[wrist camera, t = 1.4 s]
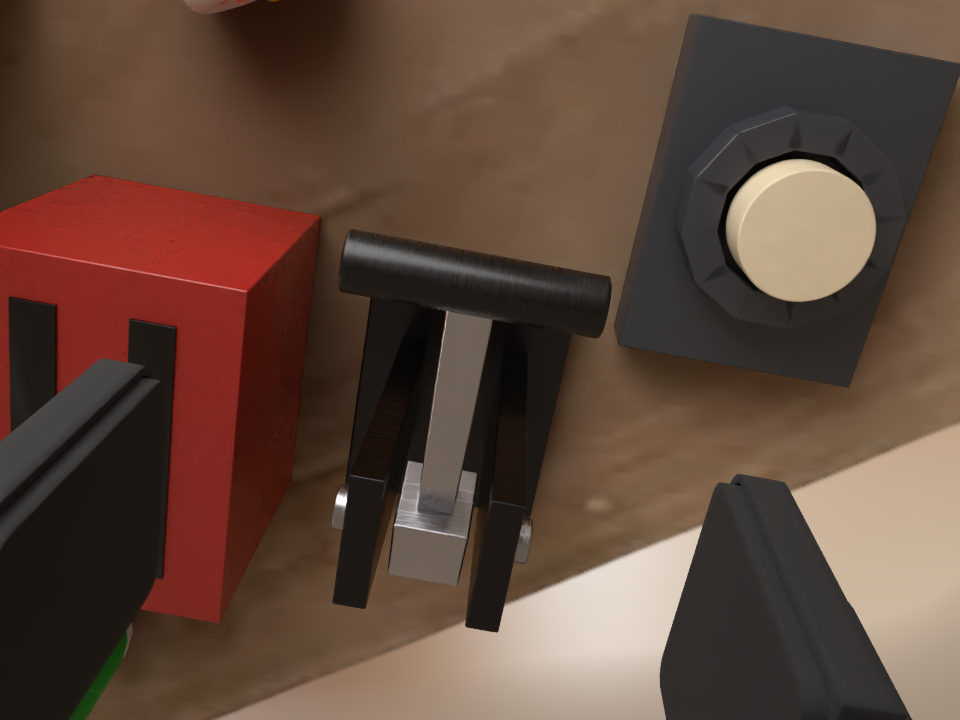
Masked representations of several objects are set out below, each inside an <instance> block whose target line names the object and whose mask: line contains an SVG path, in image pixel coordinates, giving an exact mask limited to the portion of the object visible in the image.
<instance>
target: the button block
mask: <svg viewBox="0 0 960 720" xmlns="http://www.w3.org/2000/svg"><path fill="white" fill-rule="evenodd" d="M959 76H960V64H959V63H953V62H948V61H943V60H938V59H932V58H927V57H922V56H916V55H911V54H906V53H901V52H895V51H890V50H885V49H879V48H874V47H869V46H864V45H858V44H853V43H848V42H842V41H837V40H832V39H827V38H821V37H816V36H811V35H805V34H800V33H795V32H790V31H784V30H779V29H774V28H768V27H763V26H758V25H753V24H747V23H742V22H737V21H731V20H726V19H721V18H716V17H710V16H705V15H698V14H690V16H689V20H688V24H687V28H686V33H685V37H684V41H683V45H682V49H681V53H680V57H679V61H678V65H677V69H676V74H675V78H674V82H673V86H672V90H671V94H670V98H669V102H668V106H667V110H666V115H665V119H664V123H663V127H662V131H661V135H660V139H659V143H658V147H657V151H656V156H655V160H654V164H653V168H652V172H651V176H650V180H649V184H648V188H647V192H646V197H645V201H644V205H643V209H642V213H641V217H640V221H639V225H638V229H637V233H636V238H635V242H634V246H633V250H632V254H631V258H630V262H629V266H628V270H627V274H626V279H625V283H624V287H623V291H622V295H621V299H620V303H619V307H618V311H617V315H616V320H615V324H614V328H615V332H616V336H617V340H618V344H619V346H624V347H630V348H635V349H641V350H646V351H652V352H657V353H663V354H668V355H674V356H679V357H684V358H690V359H695V360H701V361H706V362H712V363H717V364H723V365H728V366H734V367H739V368H744V369H750V370H755V371H761V372H766V373H772V374H777V375H783V376H788V377H793V378H799V379H804V380H810V381H815V382H821V383H826V384H832V385H837V386H843V387H849V386H850V383H851V380H852V377H853V374H854V372H855V369H856V366H857V363H858V360H859V358H860V355H861V352H862V349H863V346H864V343H865V341H866V338H867V335H868V332H869V329H870V326H871V324H872V321H873V318H874V315H875V312H876V310H877V307H878V304H879V301H880V298H881V295H882V293H883V290H884V287H885V284H886V281H887V279H888V276H889V273H890V270H891V267H892V264H893V262H894V259H895V256H896V253H897V250H898V248H899V245H900V242H901V239H902V236H903V233H904V231H905V228H906V225H907V222H908V219H909V217H910V214H911V211H912V208H913V205H914V202H915V200H916V197H917V194H918V191H919V188H920V186H921V183H922V180H923V177H924V174H925V171H926V169H927V166H928V163H929V160H930V157H931V154H932V152H933V149H934V146H935V143H936V140H937V138H938V135H939V132H940V129H941V126H942V123H943V121H944V118H945V115H946V112H947V109H948V107H949V104H950V101H951V98H952V95H953V92H954V90H955V87H956V84H957V81H958V78H959ZM790 159H806V160H812V161H816V162H820V163H822V164H824V165H827V166H828V167H830V168H832V169H834V170H835V171H837V172H839V173H841V174H843V175H844V176H846V177H848V178H849V179H851V180H852V181H854V182H855V183H856V184H857V185H858V186H859V187H860V188H861V189H862V190H863V191H864V192H865V194H866V195H867V197H868V198H869V200H870V202H871V205H872V207H873V210H874V214H875V220H876V236H875V242H874V246H873V249H872V252H871V254H870V257H869V259H868V260H867V262H866V264H865V266H864V267H863V268H862V270H861V271H860V273H859V274H858V275H857V276H856V277H855V278H854V279H853V280H852V281H851V282H850V283H848V284H847V285H846V286H845V287H843V288H842V289H840V290H839V291H837V292H835V293H833V294H831V295H829V296H826V297H824V298H821V299H817V300H813V301H805V302H792V301H785V300H781V299H777V298H775V297H772V296H770V295H768V294H766V293H765V292H763V291H761V290H760V289H759V288H758V287H756V286H755V285H754V284H753V283H752V282H751V281H750V279H749V278H748V277H747V275H746V274H745V273H744V272H743V270H742V269H741V268H740V266H739V265H738V264H737V262H736V261H735V260H734V258H733V256H732V254H731V252H730V250H729V247H728V244H727V239H726V219H727V214H728V210H729V207H730V205H731V202H732V200H733V198H734V196H735V195H736V193H737V192H738V190H739V189H740V188H741V186H742V185H743V184H744V183H745V182H746V181H747V180H748V179H749V178H750V177H751V176H752V175H754V174H755V173H757V172H758V171H759V170H761V169H763V168H765V167H766V166H769V165H771V164H774V163H776V162H780V161H784V160H790Z"/></svg>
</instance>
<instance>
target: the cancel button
mask: <svg viewBox="0 0 960 720" xmlns="http://www.w3.org/2000/svg"><path fill="white" fill-rule="evenodd" d="M875 236H876V220H875V214H874V210H873V207H872V205H871V202H870V200H869V198H868V197H867V195H866V194H865V192H864V191H863V190H862V189H861V188H860V187H859V186H858V185H857V184H856V183H855V182H854V181H852V180H851V179H849V178H848V177H846V176H844V175H843V174H841V173H839V172H837V171H835V170H834V169H832V168H830V167H828V166H827V165H824V164H822V163H820V162H816V161H812V160H806V159H790V160H784V161H780V162H776V163H774V164H771V165H769V166H766V167H765V168H763V169H761V170H759V171H758V172H757V173H755V174H754V175H752V176H751V177H750V178H749V179H748V180H747V181H746V182H745V183H744V184H743V185H742V186H741V188H740V189H739V190H738V192H737V193H736V195H735V196H734V198H733V200H732V202H731V205H730V207H729V210H728V214H727V219H726V239H727V244H728V247H729V250H730V252H731V254H732V256H733V258H734V260H735V261H736V262H737V264H738V265H739V266H740V268H741V269H742V270H743V272H744V273H745V274H746V275H747V277H748V278H749V279H750V281H751V282H752V283H753V284H754V285H755V286H756V287H758V288H759V289H760V290H761V291H763V292H765V293H766V294H768V295H770V296H772V297H775V298H777V299H781V300H785V301H792V302H805V301H813V300H817V299H821V298H824V297H826V296H829V295H831V294H833V293H835V292H837V291H839V290H840V289H842V288H843V287H845V286H846V285H847V284H848V283H850V282H851V281H852V280H853V279H854V278H855V277H856V276H857V275H858V274H859V273H860V271H861V270H862V268H863V267H864V266H865V264H866V262H867V260H868V259H869V257H870V254H871V252H872V249H873V246H874V242H875Z"/></svg>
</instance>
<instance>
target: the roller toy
mask: <svg viewBox="0 0 960 720" xmlns="http://www.w3.org/2000/svg"><path fill="white" fill-rule="evenodd" d="M254 1H257V0H184V2H185V3H186V5H187V6H188V7H189V8H190V9H192V10H193V11H195V12H197V13H200V14H212V13H218V12H222V11H226V10H229V9H232V8H236V7H239V6H242V5H245V4H248V3H251V2H254ZM268 1H271V2H273V1H279V0H268Z"/></svg>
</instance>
